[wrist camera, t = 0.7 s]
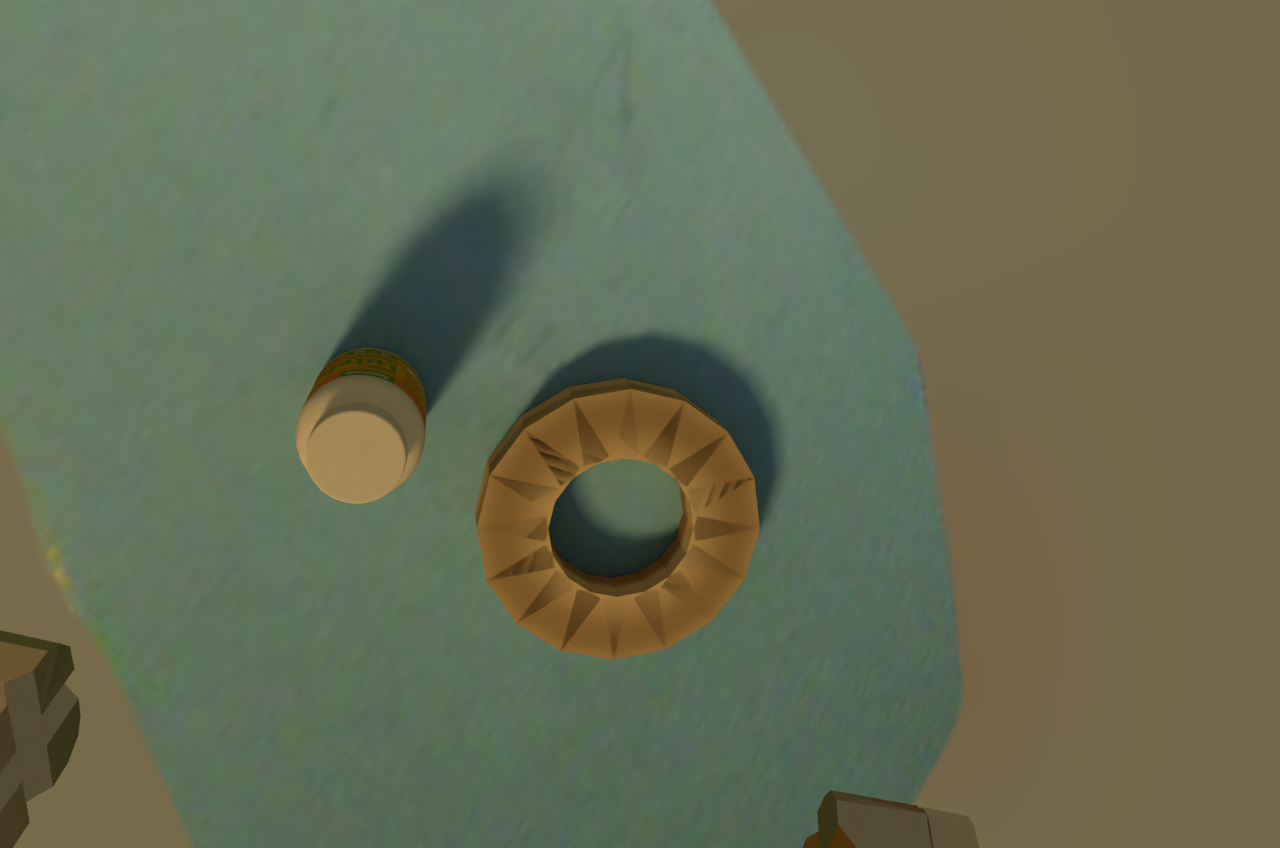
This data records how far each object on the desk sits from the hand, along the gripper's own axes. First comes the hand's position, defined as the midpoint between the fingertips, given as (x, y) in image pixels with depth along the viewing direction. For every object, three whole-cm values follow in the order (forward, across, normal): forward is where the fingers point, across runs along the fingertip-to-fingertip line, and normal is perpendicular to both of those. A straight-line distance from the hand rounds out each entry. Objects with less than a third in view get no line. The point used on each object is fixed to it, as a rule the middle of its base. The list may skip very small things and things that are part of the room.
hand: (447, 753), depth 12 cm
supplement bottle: (+37, +11, +21) cm, 44 cm away
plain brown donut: (+38, -2, +26) cm, 46 cm away
